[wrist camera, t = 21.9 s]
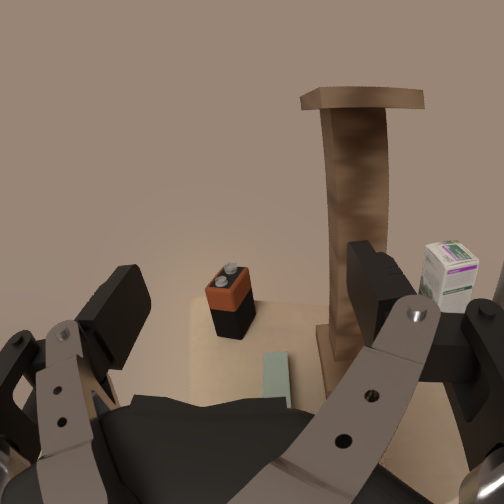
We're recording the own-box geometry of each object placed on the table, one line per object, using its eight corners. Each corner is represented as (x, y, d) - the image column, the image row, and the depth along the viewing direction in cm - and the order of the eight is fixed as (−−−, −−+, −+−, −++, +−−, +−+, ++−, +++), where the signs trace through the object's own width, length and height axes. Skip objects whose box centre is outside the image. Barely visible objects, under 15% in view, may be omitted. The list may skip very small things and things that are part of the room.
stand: (367, 328, 41) (371, 95, 27) (390, 390, 30) (423, 90, 16) (315, 335, 42) (299, 96, 28) (326, 401, 31) (319, 87, 17)
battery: (257, 314, 49) (248, 261, 44) (242, 341, 43) (230, 286, 39) (233, 311, 50) (222, 259, 46) (216, 337, 45) (201, 283, 40)
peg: (288, 366, 38) (286, 351, 36) (296, 523, 18) (296, 518, 17) (266, 368, 38) (263, 353, 37) (264, 525, 18) (260, 520, 17)
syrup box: (455, 348, 33) (483, 258, 27) (421, 358, 33) (445, 264, 27) (440, 324, 38) (459, 238, 32) (408, 331, 38) (424, 242, 32)
